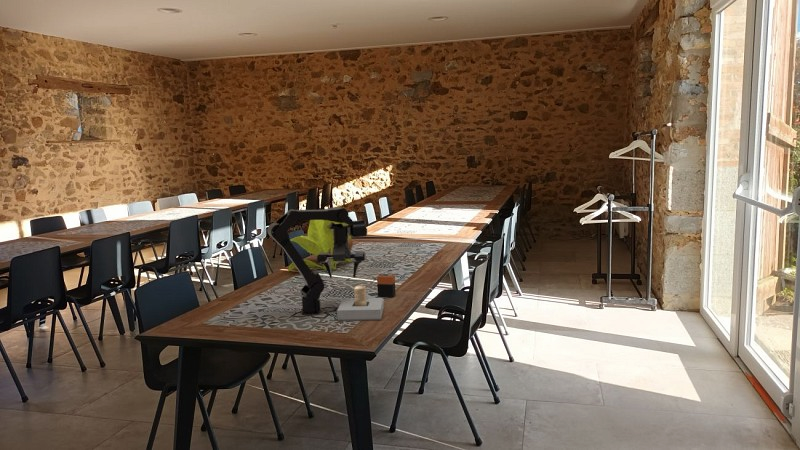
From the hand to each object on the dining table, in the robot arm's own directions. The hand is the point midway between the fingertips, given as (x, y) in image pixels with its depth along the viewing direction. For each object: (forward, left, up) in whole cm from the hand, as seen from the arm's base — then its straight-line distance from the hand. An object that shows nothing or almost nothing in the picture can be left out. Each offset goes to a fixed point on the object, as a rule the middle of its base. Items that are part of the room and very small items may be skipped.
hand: (342, 278), depth 245 cm
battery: (+16, +16, -12) cm, 26 cm away
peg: (+8, -10, -12) cm, 17 cm away
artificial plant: (-19, +74, -12) cm, 77 cm away
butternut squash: (-16, +110, -12) cm, 112 cm away
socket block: (+8, -10, -12) cm, 18 cm away
